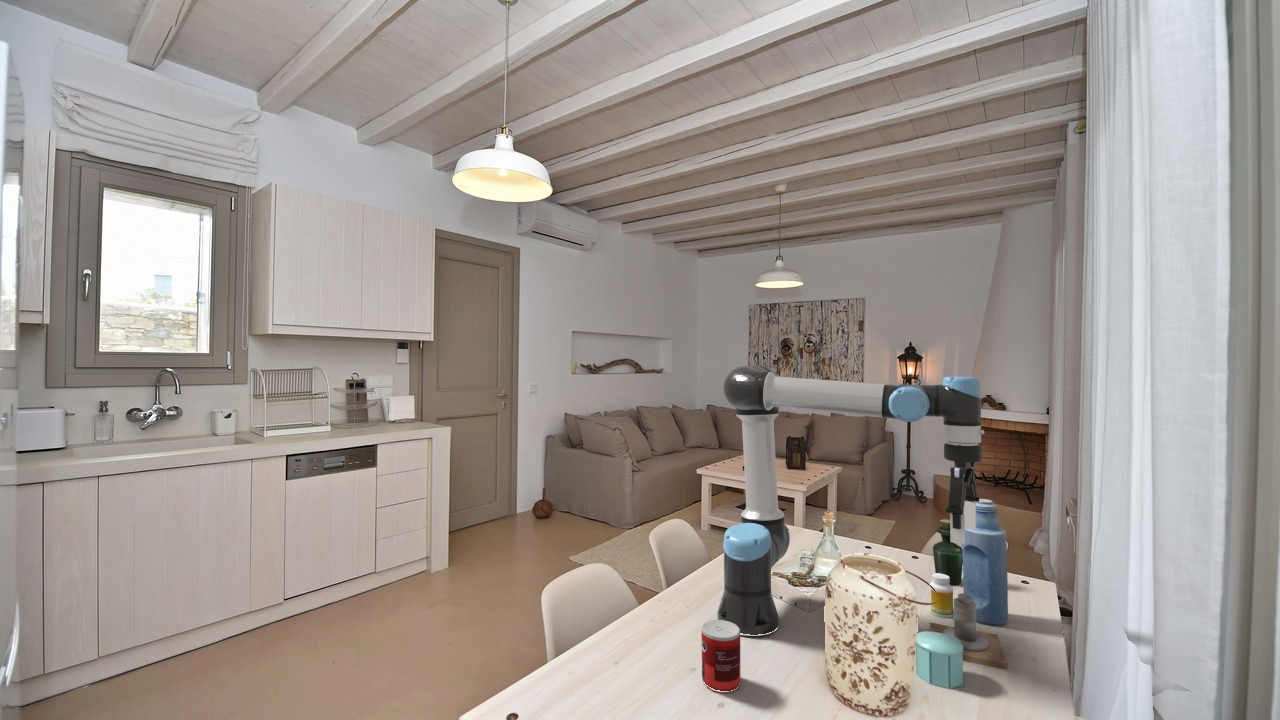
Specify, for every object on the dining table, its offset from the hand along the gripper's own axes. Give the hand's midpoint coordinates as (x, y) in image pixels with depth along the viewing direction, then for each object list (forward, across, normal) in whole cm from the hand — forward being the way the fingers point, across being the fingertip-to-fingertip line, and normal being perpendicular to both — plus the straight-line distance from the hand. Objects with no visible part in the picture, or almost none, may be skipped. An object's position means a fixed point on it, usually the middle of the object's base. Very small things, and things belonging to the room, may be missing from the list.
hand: (963, 535), depth 125 cm
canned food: (+26, -48, +35) cm, 65 cm away
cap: (+25, -17, +2) cm, 31 cm away
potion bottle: (+25, +40, +11) cm, 49 cm away
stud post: (+25, 0, 0) cm, 25 cm away
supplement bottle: (+26, +15, +8) cm, 31 cm away
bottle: (+26, +20, -1) cm, 32 cm away
